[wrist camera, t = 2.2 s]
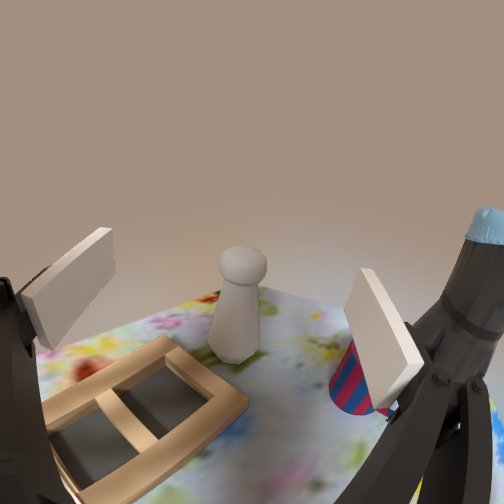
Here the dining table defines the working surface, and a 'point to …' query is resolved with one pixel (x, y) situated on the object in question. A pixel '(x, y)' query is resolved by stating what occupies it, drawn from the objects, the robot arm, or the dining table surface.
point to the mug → (352, 386)
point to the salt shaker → (238, 305)
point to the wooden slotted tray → (137, 422)
